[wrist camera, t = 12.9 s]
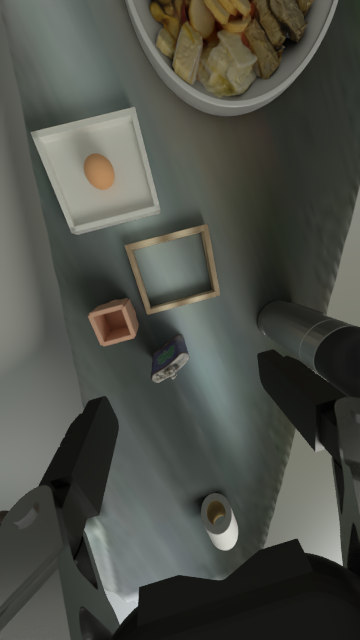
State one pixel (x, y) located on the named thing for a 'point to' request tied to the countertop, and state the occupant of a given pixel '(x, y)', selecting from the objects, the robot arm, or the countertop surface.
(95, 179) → the ball
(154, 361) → the flask
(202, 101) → the bowl
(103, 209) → the tray
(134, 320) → the cup
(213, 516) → the toilet paper
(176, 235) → the corral
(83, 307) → the countertop surface
